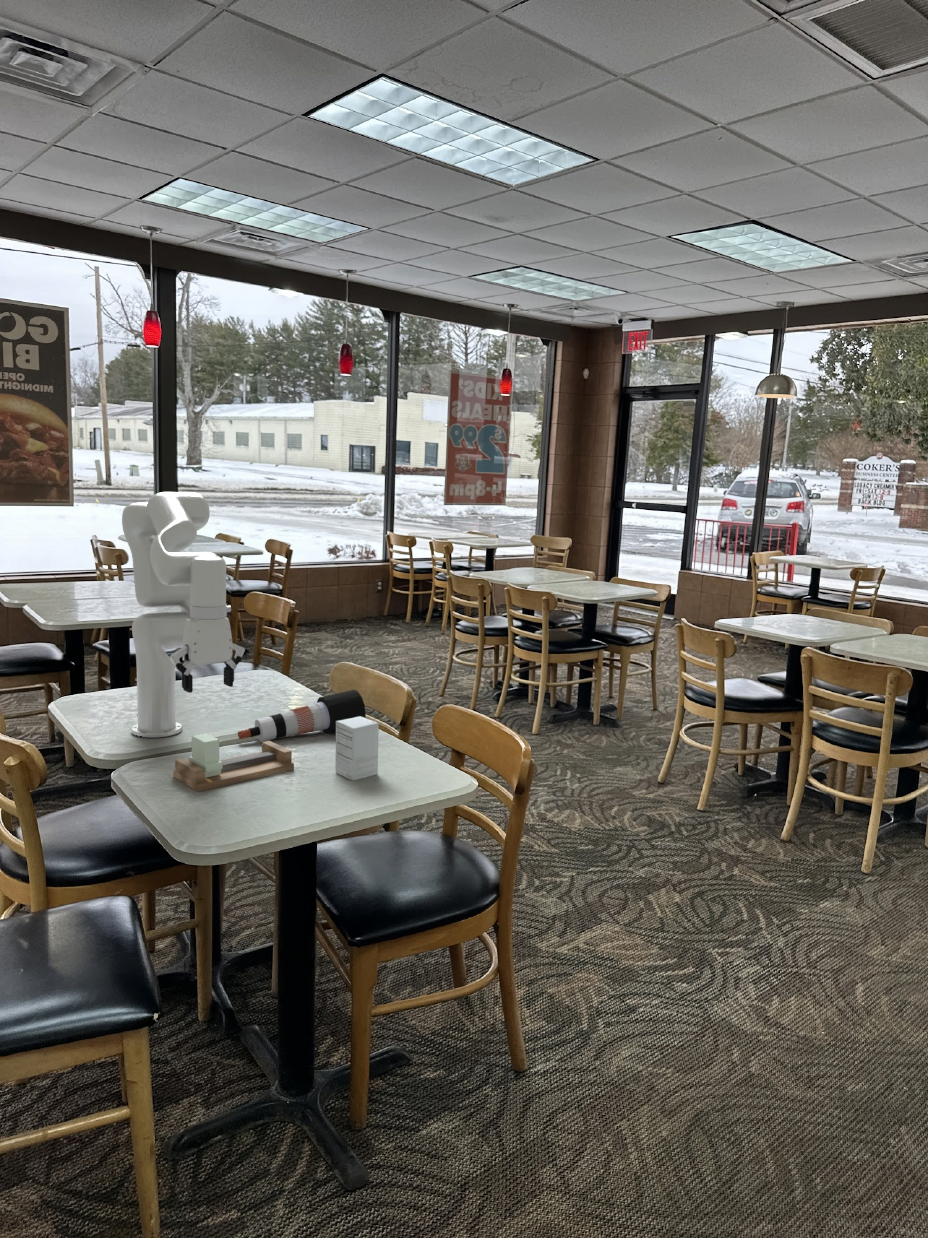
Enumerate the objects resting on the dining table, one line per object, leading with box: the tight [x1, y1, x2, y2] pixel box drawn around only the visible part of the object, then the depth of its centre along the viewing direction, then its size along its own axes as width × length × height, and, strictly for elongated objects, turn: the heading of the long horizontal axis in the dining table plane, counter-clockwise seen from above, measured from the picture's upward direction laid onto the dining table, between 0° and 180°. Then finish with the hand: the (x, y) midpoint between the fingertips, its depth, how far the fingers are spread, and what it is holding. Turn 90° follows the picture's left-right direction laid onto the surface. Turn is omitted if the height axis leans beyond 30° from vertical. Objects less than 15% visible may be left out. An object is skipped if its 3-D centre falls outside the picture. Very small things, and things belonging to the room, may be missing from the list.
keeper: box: [188, 732, 222, 778], centre depth 192 cm, size 8×4×8 cm, turn 44°
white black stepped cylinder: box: [237, 689, 367, 743], centre depth 228 cm, size 10×34×10 cm, turn 124°
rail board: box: [172, 740, 295, 793], centre depth 198 cm, size 12×24×4 cm, turn 134°
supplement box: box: [334, 716, 380, 782], centre depth 200 cm, size 7×7×13 cm
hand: (208, 688), depth 192 cm, fingers open, 9 cm apart
